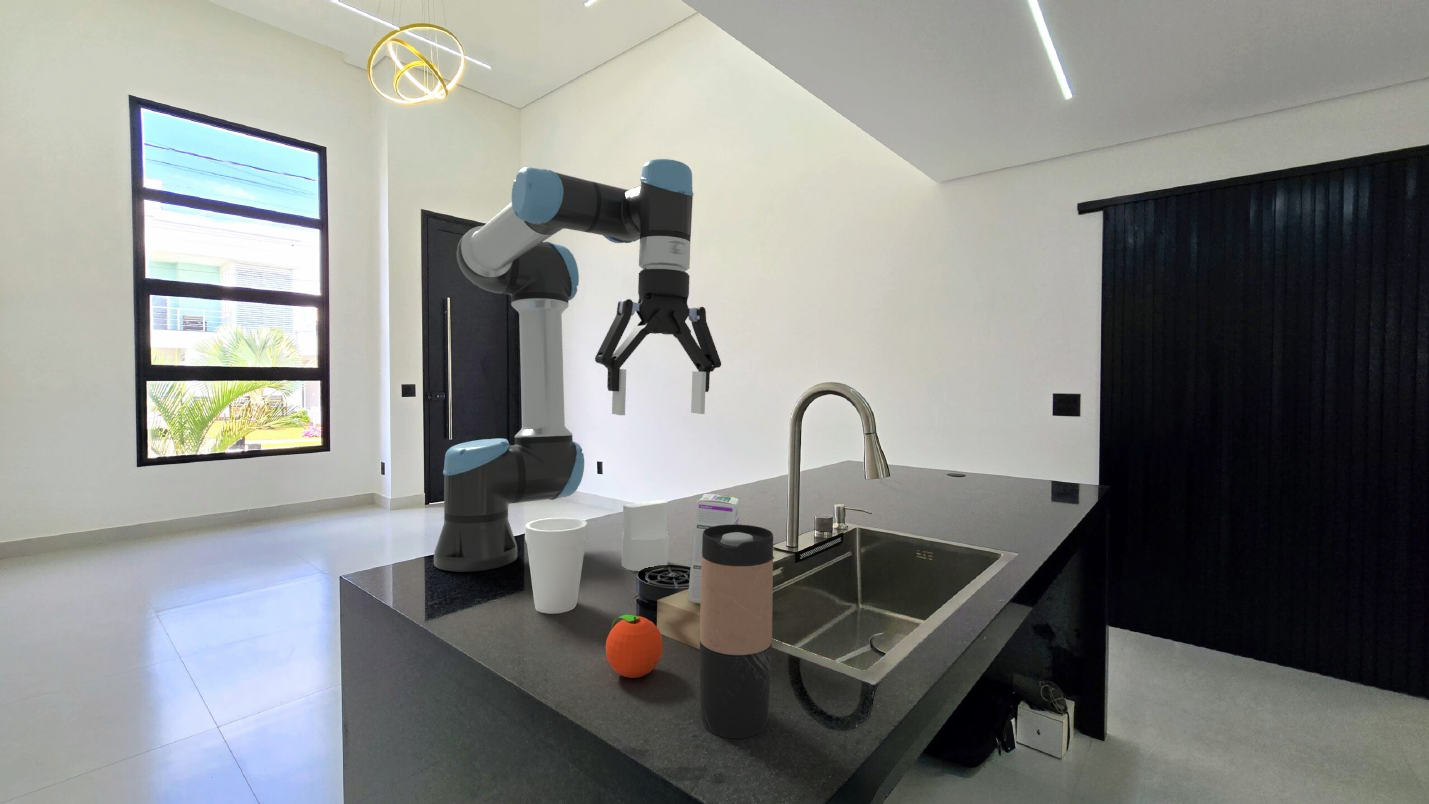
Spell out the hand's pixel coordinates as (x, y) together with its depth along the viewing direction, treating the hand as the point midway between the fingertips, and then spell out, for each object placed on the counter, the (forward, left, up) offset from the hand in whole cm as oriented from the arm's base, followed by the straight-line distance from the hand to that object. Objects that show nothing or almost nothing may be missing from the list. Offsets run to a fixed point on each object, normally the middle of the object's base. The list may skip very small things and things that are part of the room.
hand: (659, 414), depth 91 cm
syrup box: (+9, +4, -26) cm, 28 cm away
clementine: (+14, -11, -31) cm, 36 cm away
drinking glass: (-24, +11, -31) cm, 41 cm away
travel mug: (+29, -6, -31) cm, 43 cm away
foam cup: (-12, -11, -31) cm, 35 cm away
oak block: (+9, +4, -31) cm, 33 cm away
